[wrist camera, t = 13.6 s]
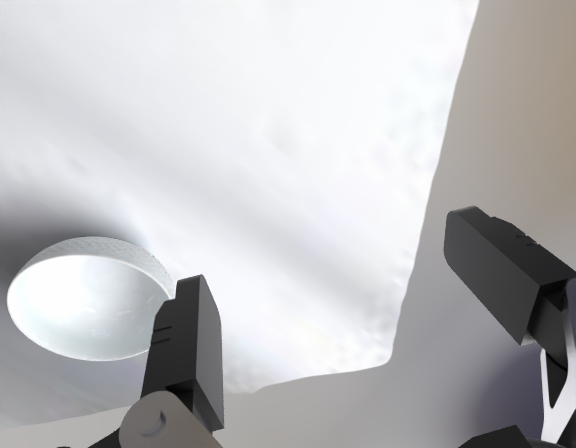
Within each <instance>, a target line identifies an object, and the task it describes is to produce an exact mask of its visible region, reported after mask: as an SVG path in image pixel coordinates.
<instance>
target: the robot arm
mask: <svg viewBox="0 0 576 448" xmlns="http://www.w3.org/2000/svg"><path fill="white" fill-rule="evenodd" d="M444 255H445V258H446V261H447V263H448V265H449V266H450V267H451V269H452V270H453V271H454V272H455V273H456V274H457V275H458V276H459V278H461V280H462V281H463V282H464V283H465V284H466V285H467V287H468V288H469V289H470V290H471V291H472V292H473V293H474V294H475V295H476V297H477V298H478V299H479V300H480V301H481V302H482V303H483V305H484V306H485V307H486V308H487V309H488V310H489V311H490V312H491V314H492V315H493V316H494V317H495V318H496V319H497V320H498V322H499V323H500V324H501V325H502V326H503V327H504V328H505V329H506V331H507V332H508V333H509V334H510V335H511V336H512V337H513V338H514V340H515V341H516V342H517V343H518V344H519V345H520V346H523V345H527V344H530V343H534V342H538V343H539V344H540V345H541V347H542V351H541V370H542V385H543V401H544V426H543V431H542V438H541V440H537V439H529V438H525V437H524V435H523V434H522V433H521V431H520V430H519V428H518V427H517V426H516V425H513V426H510V427H506V428H503V429H500V430H496V431H493V432H490V433H486V434H482V435H479V436H476V437H473V438H471V439H470V440H468V441H467V442H466V443H464V444H463V445H461V446H460V447H459V448H576V271H574V270H573V269H572V268H570V267H569V266H568V265H566V264H565V263H564V262H562V261H561V260H559V259H558V258H557V257H556V256H554V255H553V254H552V253H550V252H549V251H548V250H546V249H545V248H544V247H542V246H541V245H540V244H538V245H537V243H536V241H534V240H533V239H532V238H530V237H529V236H526V235H525V233H524V232H522V231H521V230H520V229H518V228H517V227H516V226H514V225H513V224H511V223H509V222H506V221H504V220H501V219H499V218H496V217H489V216H488V215H487V214H485V213H484V212H483V211H482V210H480V209H479V208H478V207H476V206H470V207H466V208H462V209H458V210H454V211H451V212H449V213H448V215H447V220H446V230H445V241H444ZM150 344H151V346H150V348H149V353H148V359H147V365H146V370H145V376H144V381H143V387H142V393H141V397H140V400H138V401H137V402H136V403H135V404H134V405H133V406H132V407H131V408H130V410H129V411H128V412H127V414H126V415H125V417H124V419H123V421H122V423H121V426H120V427H119V428H118V429H117V430H116V431H114V432H113V433H111V434H110V435H108V436H107V437H105V438H103V439H102V440H100V441H98V442H97V443H95V444H93V445H92V446H90V447H88V448H223V447H222V446H221V445H220V444H219V443H218V441H217V440H216V439H215V438H214V437H213V436H212V432H213V431H216V430H220V429H223V428H224V407H223V371H222V337H221V321H220V316H219V312H218V308H217V306H216V303H215V301H214V299H213V296H212V294H211V292H210V289H209V287H208V284H207V282H206V280H205V278H204V276H203V275H202V274H201V275H197V276H193V277H189V278H185V279H181V280H178V282H177V286H176V295H175V299H171V300H167V301H164V302H163V304H162V306H161V307H160V309H159V310H158V312H157V314H156V315H155V320H154V325H153V334H152V336H151V342H150ZM58 448H70V447H58Z"/></svg>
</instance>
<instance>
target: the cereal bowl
mask: <svg viewBox="0 0 576 448" xmlns="http://www.w3.org/2000/svg"><path fill="white" fill-rule="evenodd" d="M175 295H176V293H175V289H174V285H173V282H172V279H171V278H170V275H169V274H168V272H167V270H166V269H165V268H164V266H163V265H162V264H161V263H160V262H159V261H158V260H157V259H156V258H155V257H154V256H152V255H151V254H150V253H148V252H147V251H145V250H144V249H141V248H140V247H137V246H136V245H133V244H131V243H128V242H125V241H121V240H119V239H115V238H114V239H113V238H107V237H96V236H95V237H90V236H88V237H79V238H73V239H68V240H64V241H61V242H58V243H56V244H54V245H51V246H49V247H48V248H45V249H43V250H42V251H41V252H39V253H37V254H36V255H35V256H34V257H32V258H31V260H30V261H28V262H27V263H26V264H25V265H24V266H23V267H22V268H21V270H20V271H19V272H18V273H17V275H16V276H15V277H14V278H13V280H12V282H11V284H10V286H9V289H8V292H7V307H8V311H9V314H10V316H11V318H12V320H13V322H14V323H15V325H16V326H17V327H18V329H19V330H20V331H21V332H22V333H23V334H24V335H25V336H27V337H28V338H29V339H30V340H32V341H33V342H35V343H36V344H38V345H40V346H41V347H43V348H45V349H47V350H49V351H52V352H54V353H57V354H60V355H63V356H66V357H71V358H75V359H81V360H89V361H111V360H119V359H125V358H129V357H133V356H136V355H139V354H141V353H144V352H146V351H148V350H149V348H150V346H151V344H150V342H151V336H152V334H153V325H154V320H155V315H156V314H157V312H158V310H159V309H160V307H161V306H162V304H163V302H164V301H167V300H171V299H175Z"/></svg>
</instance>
